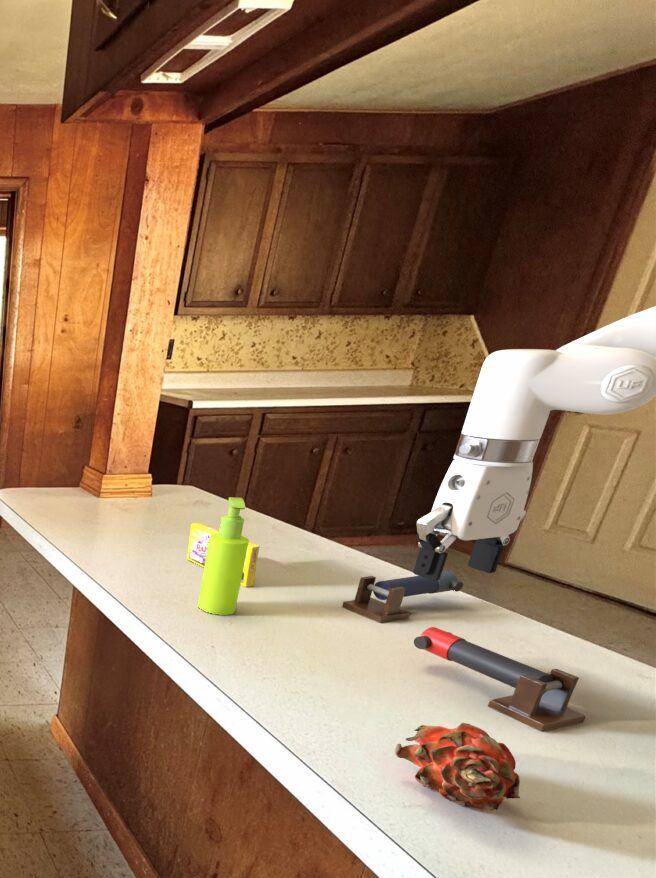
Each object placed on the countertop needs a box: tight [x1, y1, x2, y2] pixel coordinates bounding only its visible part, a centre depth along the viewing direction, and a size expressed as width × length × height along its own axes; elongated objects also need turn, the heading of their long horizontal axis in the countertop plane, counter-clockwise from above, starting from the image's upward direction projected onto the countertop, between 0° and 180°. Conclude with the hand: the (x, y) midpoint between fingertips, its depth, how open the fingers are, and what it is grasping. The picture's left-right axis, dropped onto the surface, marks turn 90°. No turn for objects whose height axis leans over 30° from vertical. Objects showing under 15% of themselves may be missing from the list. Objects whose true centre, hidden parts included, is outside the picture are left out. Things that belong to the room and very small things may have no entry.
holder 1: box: [341, 575, 411, 624], centre depth 112 cm, size 6×7×6 cm
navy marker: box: [367, 570, 464, 601], centre depth 113 cm, size 15×5×4 cm, turn 104°
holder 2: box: [487, 668, 587, 732], centre depth 83 cm, size 6×7×6 cm
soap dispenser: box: [197, 496, 250, 616], centre depth 113 cm, size 6×7×20 cm
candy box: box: [186, 522, 261, 588], centre depth 131 cm, size 16×2×8 cm, turn 14°
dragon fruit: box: [394, 722, 521, 811], centre depth 70 cm, size 8×8×12 cm
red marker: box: [413, 626, 562, 694], centre depth 89 cm, size 15×5×4 cm, turn 14°
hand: (453, 573), depth 92 cm, fingers open, 9 cm apart
